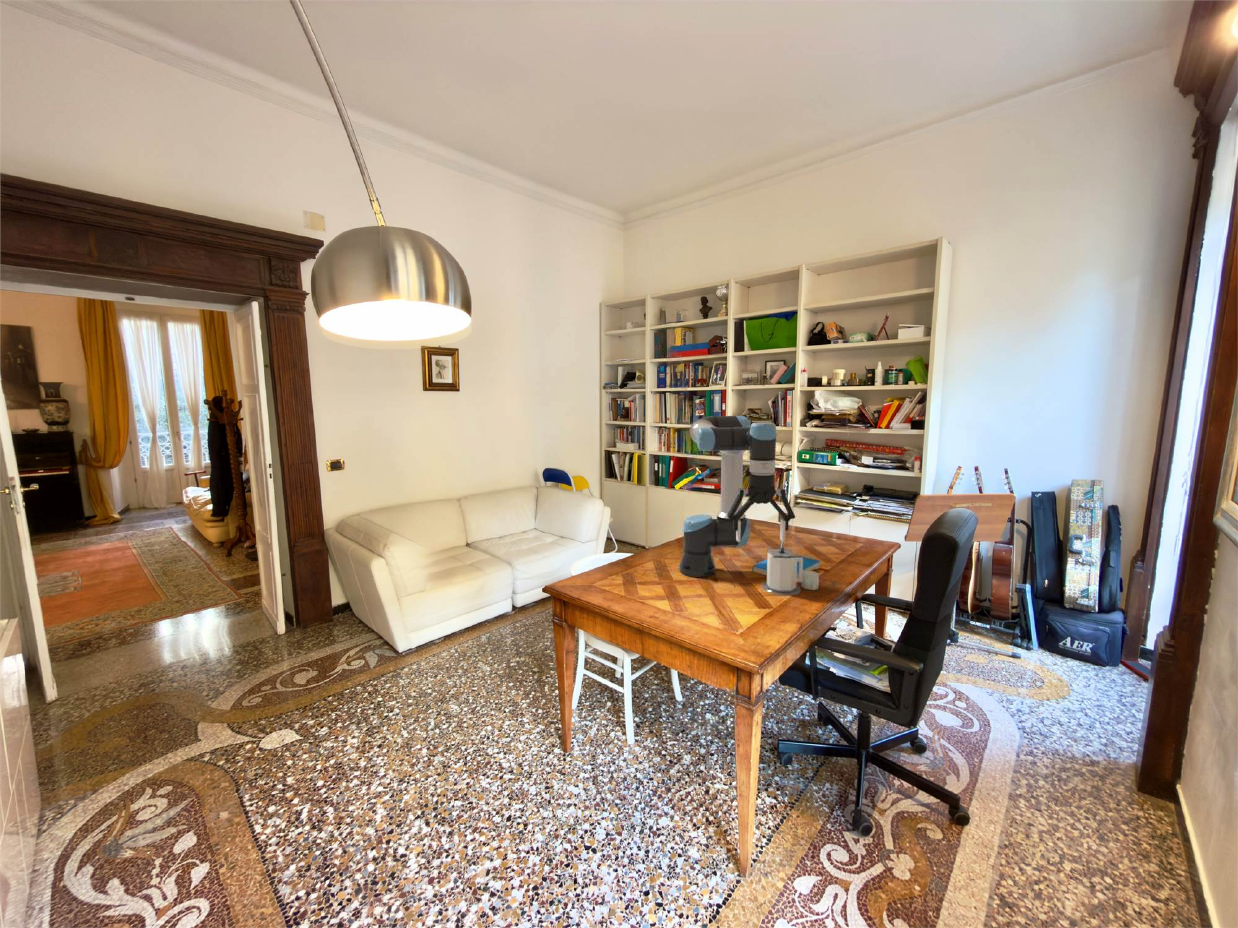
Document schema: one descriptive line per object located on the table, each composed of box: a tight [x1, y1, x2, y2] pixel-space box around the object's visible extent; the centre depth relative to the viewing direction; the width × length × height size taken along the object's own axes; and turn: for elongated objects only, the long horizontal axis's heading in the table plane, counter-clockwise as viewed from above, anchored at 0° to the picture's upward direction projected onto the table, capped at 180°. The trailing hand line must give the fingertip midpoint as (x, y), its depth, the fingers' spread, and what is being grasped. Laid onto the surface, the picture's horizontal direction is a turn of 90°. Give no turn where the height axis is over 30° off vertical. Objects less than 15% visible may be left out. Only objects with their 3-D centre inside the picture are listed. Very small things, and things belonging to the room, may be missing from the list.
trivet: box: [761, 581, 802, 596], centre depth 181 cm, size 14×14×1 cm
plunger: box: [777, 512, 788, 554], centre depth 178 cm, size 4×4×16 cm
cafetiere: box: [766, 548, 803, 593], centre depth 180 cm, size 10×13×14 cm
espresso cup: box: [800, 570, 820, 591], centre depth 181 cm, size 7×6×6 cm
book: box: [751, 554, 821, 578], centre depth 201 cm, size 17×4×25 cm
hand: (760, 540), depth 150 cm, fingers open, 13 cm apart
